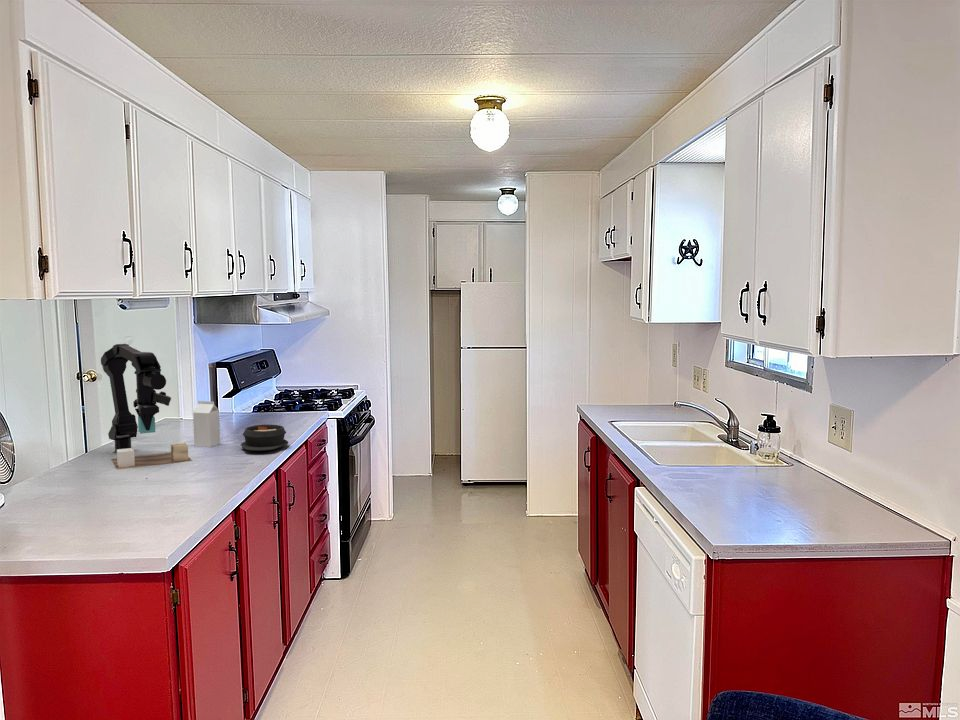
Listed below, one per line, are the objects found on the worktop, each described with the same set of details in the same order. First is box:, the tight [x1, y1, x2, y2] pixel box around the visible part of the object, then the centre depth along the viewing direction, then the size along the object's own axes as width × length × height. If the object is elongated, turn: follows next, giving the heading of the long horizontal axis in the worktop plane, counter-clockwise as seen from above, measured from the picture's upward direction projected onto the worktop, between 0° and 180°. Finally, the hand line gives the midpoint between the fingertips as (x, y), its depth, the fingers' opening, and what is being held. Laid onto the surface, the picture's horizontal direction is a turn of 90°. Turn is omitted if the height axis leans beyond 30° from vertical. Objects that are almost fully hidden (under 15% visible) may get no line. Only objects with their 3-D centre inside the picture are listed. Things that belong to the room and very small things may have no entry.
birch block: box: [170, 442, 189, 461], centre depth 264 cm, size 5×5×6 cm
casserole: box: [240, 424, 289, 452], centre depth 290 cm, size 25×19×8 cm
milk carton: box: [192, 400, 221, 448], centre depth 288 cm, size 7×7×19 cm
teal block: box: [137, 415, 156, 434], centre depth 263 cm, size 5×5×6 cm
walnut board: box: [110, 452, 193, 470], centre depth 263 cm, size 18×25×1 cm
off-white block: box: [116, 447, 135, 468], centre depth 255 cm, size 5×5×6 cm
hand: (146, 429), depth 263 cm, fingers closed on teal block, 5 cm apart
